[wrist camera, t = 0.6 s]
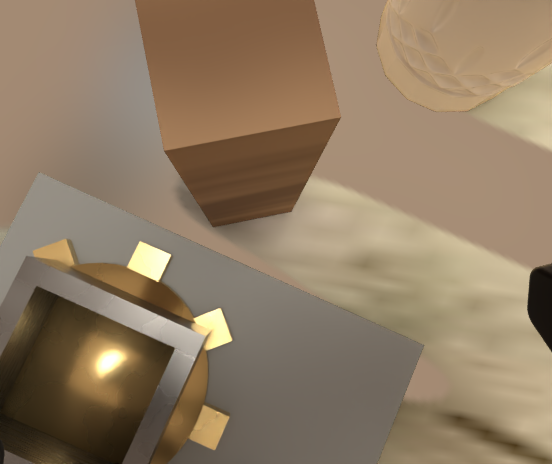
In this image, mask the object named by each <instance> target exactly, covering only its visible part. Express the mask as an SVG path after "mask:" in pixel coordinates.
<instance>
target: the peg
mask: <svg viewBox="0 0 552 464" xmlns="http://www.w3.org/2000/svg"><path fill="white" fill-rule="evenodd" d="M135 2H136V7H137V13H138V18H139V23H140V28H141V34H142V38H143V44H144V49H145V54H146V60H147V65H148V70H149V75H150V80H151V86H152V91H153V96H154V101H155V106H156V111H157V117H158V122H159V127H160V132H161V137H162V143H163V147H164V151H165V153H166V155H167V156H168V158H169V159H170V161H171V162H172V164H173V165H174V167H175V169H176V170H177V172H178V173H179V175H180V176H181V178H182V179H183V181H184V183H185V184H186V186H187V187H188V189H189V190H190V192H191V193H192V195H193V197H194V198H195V200H196V201H197V203H198V204H199V206H200V207H201V209H202V211H203V212H204V214H205V215H206V217H207V218H208V220H209V221H210V223H211V225H212V226H213V227H217V226H222V225H227V224H232V223H237V222H242V221H247V220H252V219H256V218H261V217H266V216H271V215H276V214H281V213H286V212H291V211H292V209H293V207H294V205H295V204H296V202H297V200H298V198H299V196H300V194H301V192H302V190H303V188H304V186H305V185H306V183H307V181H308V179H309V177H310V175H311V173H312V171H313V169H314V168H315V166H316V164H317V162H318V160H319V158H320V156H321V154H322V152H323V150H324V149H325V146H326V145H327V142H328V141H329V139H330V137H331V135H332V133H333V131H334V130H335V128H336V126H337V124H338V122H339V120H340V118H341V115H340V111H339V106H338V102H337V98H336V93H335V89H334V85H333V80H332V76H331V72H330V68H329V63H328V59H327V55H326V50H325V46H324V41H323V37H322V33H321V28H320V24H319V20H318V15H317V11H316V7H315V2H314V0H135Z"/></svg>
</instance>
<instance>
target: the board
mask: <svg viewBox="0 0 552 464" xmlns="http://www.w3.org/2000/svg"><path fill="white" fill-rule="evenodd" d="M64 239H69V240H71V241H72V244H73V247H74V250H75V253H76V255H77V258H78V261H79V264H86V263H109V264H118V265H123V266H128V264H129V262H130V260H131V258H132V256H133V254H134V252H135V250H136V248H137V246H138V244H139V242H140V241H141V242H143V243H146V244H148V245H150V246H152V247H155V248H157V249H159V250H161V251H163V252H166V253H168V254H170V255H172V256H173V257H172V259H171V261H170V264H169V266H168V268H167V270H166V272H165V274H164V276H163V278H162V280H161V281H162V282H163V283H165V284H166V285H168V286H169V287H170V288H171V289H172V290H174V291H175V292H176V293H177V294H178V295H179V296H180V297H181V298H182V300H183V301H184V302H185V303H186V304H187V306H188V307H189V308H190V310H191V312H192V313H193V315H194V316H195V318H196V317H198V316H201V315H203V314H206V313H208V312H211V311H214V310H216V309H219V308H222V311H223V313H224V316H225V319H226V322H227V324H228V327H229V330H230V332H231V335H232V338H233V340H232V341H230V342H228V343H225V344H223V345H220V346H217V347H215V348H212V349H210V350H207V354H208V361H209V378H208V388H207V393H206V397H205V402H207V403H209V404H211V405H213V406H216V407H218V408H220V409H222V410H225V411H227V412H229V413H230V417H229V419H228V422H227V424H226V426H225V429H224V431H223V433H222V435H221V438H220V440H219V442H218V444H217V447H216V449H215V450H213V449H210V448H208V447H206V446H204V445H202V444H199V443H197V442H195V441H193V440H190V439H187V441H186V442H185V444H184V445H183V447H182V448H181V449H180V450H179V451H178V453H177V454H176V455H175V456H174V457H173V458H172V459H171V460H170V461H169V462H168V463H167V464H377V463H378V460H379V458H380V455H381V453H382V450H383V448H384V445H385V443H386V440H387V438H388V435H389V433H390V430H391V428H392V425H393V423H394V420H395V418H396V415H397V413H398V410H399V408H400V405H401V402H402V400H403V397H404V395H405V392H406V390H407V387H408V385H409V382H410V379H411V377H412V375H413V372H414V370H415V367H416V365H417V362H418V360H419V357H420V355H421V352H422V350H423V347H424V345H422V344H420V343H418V342H416V341H413V340H411V339H409V338H407V337H405V336H402V335H400V334H398V333H396V332H393V331H391V330H389V329H387V328H385V327H382V326H380V325H378V324H376V323H373V322H371V321H369V320H367V319H365V318H362V317H360V316H358V315H356V314H353V313H351V312H349V311H347V310H344V309H342V308H340V307H338V306H336V305H333V304H331V303H329V302H327V301H324V300H322V299H320V298H318V297H316V296H313V295H311V294H309V293H307V292H304V291H302V290H300V289H298V288H295V287H293V286H291V285H289V284H287V283H284V282H282V281H280V280H278V279H276V278H273V277H271V276H269V275H266V274H264V273H262V272H260V271H258V270H255V269H253V268H251V267H249V266H247V265H244V264H242V263H240V262H238V261H235V260H233V259H231V258H229V257H227V256H224V255H222V254H220V253H218V252H215V251H213V250H211V249H209V248H206V247H204V246H202V245H200V244H198V243H195V242H193V241H191V240H189V239H187V238H184V237H182V236H180V235H178V234H175V233H173V232H171V231H169V230H166V229H164V228H162V227H160V226H158V225H155V224H153V223H151V222H149V221H146V220H144V219H142V218H140V217H138V216H135V215H133V214H131V213H128V212H126V211H124V210H122V209H120V208H118V207H115V206H113V205H110V204H109V203H106V202H104V201H102V200H100V199H97V198H95V197H93V196H91V195H89V194H86V193H84V192H82V191H79V190H77V189H75V188H73V187H70V186H69V185H66V184H64V183H62V182H60V181H57V180H55V179H53V178H51V177H49V176H46V175H44V174H42V173H40V172H39V173H38V175H37V177H36V179H35V181H34V183H33V185H32V186H31V188H30V190H29V192H28V194H27V196H26V198H25V200H24V202H23V204H22V205H21V208H20V209H19V211H18V213H17V215H16V217H15V219H14V221H13V223H12V225H11V227H10V228H9V230H8V232H7V234H6V236H5V238H4V240H3V242H2V244H1V246H0V306H1V304H2V302H3V300H4V298H5V296H6V294H7V292H8V291H9V289H10V287H11V285H12V283H13V281H14V279H15V277H16V275H17V273H18V271H19V269H20V267H21V265H22V263H23V261H24V259H25V257H26V256H32V257H34V254H33V250H36V249H39V248H42V247H44V246H47V245H50V244H53V243H55V242H58V241H61V240H64Z"/></svg>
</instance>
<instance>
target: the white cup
mask: <svg viewBox="0 0 552 464" xmlns="http://www.w3.org/2000/svg"><path fill="white" fill-rule="evenodd" d="M376 46H377V50H378V53H379V56H380V60H381V63H382V66H383V70H384V73H385V76H386V77H387V78H388V79H389V80H390V81H391V82H392V84H393V85H394V86H395V87H396V88H397V89H398V90H399V91H400V92H401V93H402V95H403V96H404V97H405V98H406V99H407V100H410V101H412V102H414V103H417V104H419V105H421V106H423V107H426V108H428V109H430V110H433V111H435V112H455V111H469V110H471V109H473V108H475V107H477V106H479V105H480V104H482V103H484V102H486V101H488V100H490V99H492V98H494V97H496V96H497V95H499V94H500V93H502V92H503V91H504V90H506V89H507V88H510V87H513V86H515V85H517V84H519V83H521V82H522V81H524V80H525V79H527V78H528V77H530V76H531V75H533V74H536V73H537V72H538V71H540V70H542V69H543V68H545V67H547V66H548V65H550V64H551V63H552V0H387V3H386V5H385V8H384V10H383V13H382V15H381V20H380V26H379V32H378V38H377V44H376Z"/></svg>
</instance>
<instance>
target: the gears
mask: <svg viewBox="0 0 552 464" xmlns="http://www.w3.org/2000/svg"><path fill="white" fill-rule="evenodd" d="M33 254H34V257H32V256H26V257H25V259H24V261H23V263H22V265H21V267H20V269H19V271H18V273H17V275H16V277H15V279H14V281H13V283H12V285H11V287H10V289H9V291H8V292H7V294H6V296H5V298H4V300H3V302H2V304H1V306H0V438H1V440H2V442H3V445H4V452H5V456H4V464H167V463H168V462H169V461H170V460H171V459H172V458H173V457H174V456H175V455H176V454H177V453H178V451H179V450H180V449H181V448H182V447H183V445H184V444H185V442H186V441H187V439H190V440H193V441H195V442H197V443H199V444H202V445H204V446H206V447H208V448H210V449H213V450H215V449H216V447H217V444H218V442H219V440H220V438H221V435H222V433H223V431H224V429H225V426H226V424H227V422H228V419H229V417H230V413H229V412H227V411H225V410H222V409H220V408H218V407H216V406H213V405H211V404H209V403H207V402H205V397H206V393H207V388H208V378H209V361H208V354H207V350H210V349H212V348H215V347H217V346H220V345H223V344H225V343H228V342H230V341H232V340H233V338H232V335H231V332H230V330H229V327H228V324H227V322H226V319H225V316H224V313H223V311H222V308H219V309H216V310H214V311H211V312H208V313H206V314H203V315H201V316H198V317H196V318H195V316H194V315H193V313H192V312H191V310H190V308H189V307H188V306H187V304H186V303H185V302H184V301H183V300H182V298H181V297H180V296H179V295H178V294H177V293H176V292H175V291H174V290H172V289H171V288H170V287H169V286H168V285H166V284H165V283H163V282H162V281H161V280H162V278H163V276H164V274H165V272H166V270H167V268H168V266H169V264H170V261H171V259H172V257H173V256H172V255H170V254H168V253H166V252H163V251H161V250H159V249H157V248H155V247H152V246H150V245H148V244H146V243H143V242H141V241H140V242H139V244H138V246H137V248H136V250H135V252H134V254H133V256H132V258H131V260H130V262H129V264H128V266H123V265H118V264H109V263H86V264H79V261H78V258H77V255H76V253H75V250H74V247H73V244H72V241H71V240H69V239H64V240H61V241H58V242H55V243H53V244H50V245H47V246H44V247H42V248H39V249H36V250H33Z"/></svg>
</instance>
